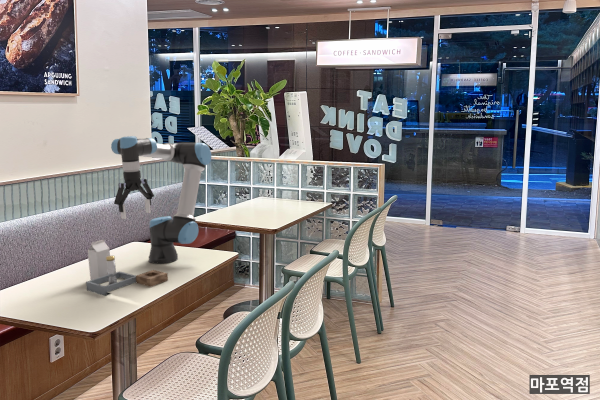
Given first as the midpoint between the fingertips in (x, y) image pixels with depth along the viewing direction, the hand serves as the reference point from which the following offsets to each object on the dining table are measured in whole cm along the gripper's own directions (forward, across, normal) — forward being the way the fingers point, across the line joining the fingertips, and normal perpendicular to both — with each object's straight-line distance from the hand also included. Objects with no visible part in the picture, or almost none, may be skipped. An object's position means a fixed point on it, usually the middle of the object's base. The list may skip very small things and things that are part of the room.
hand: (136, 215), depth 252 cm
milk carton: (+31, +11, -18) cm, 38 cm away
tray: (+31, +14, -3) cm, 34 cm away
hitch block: (+31, +2, +10) cm, 33 cm away
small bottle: (+30, +14, -3) cm, 33 cm away
